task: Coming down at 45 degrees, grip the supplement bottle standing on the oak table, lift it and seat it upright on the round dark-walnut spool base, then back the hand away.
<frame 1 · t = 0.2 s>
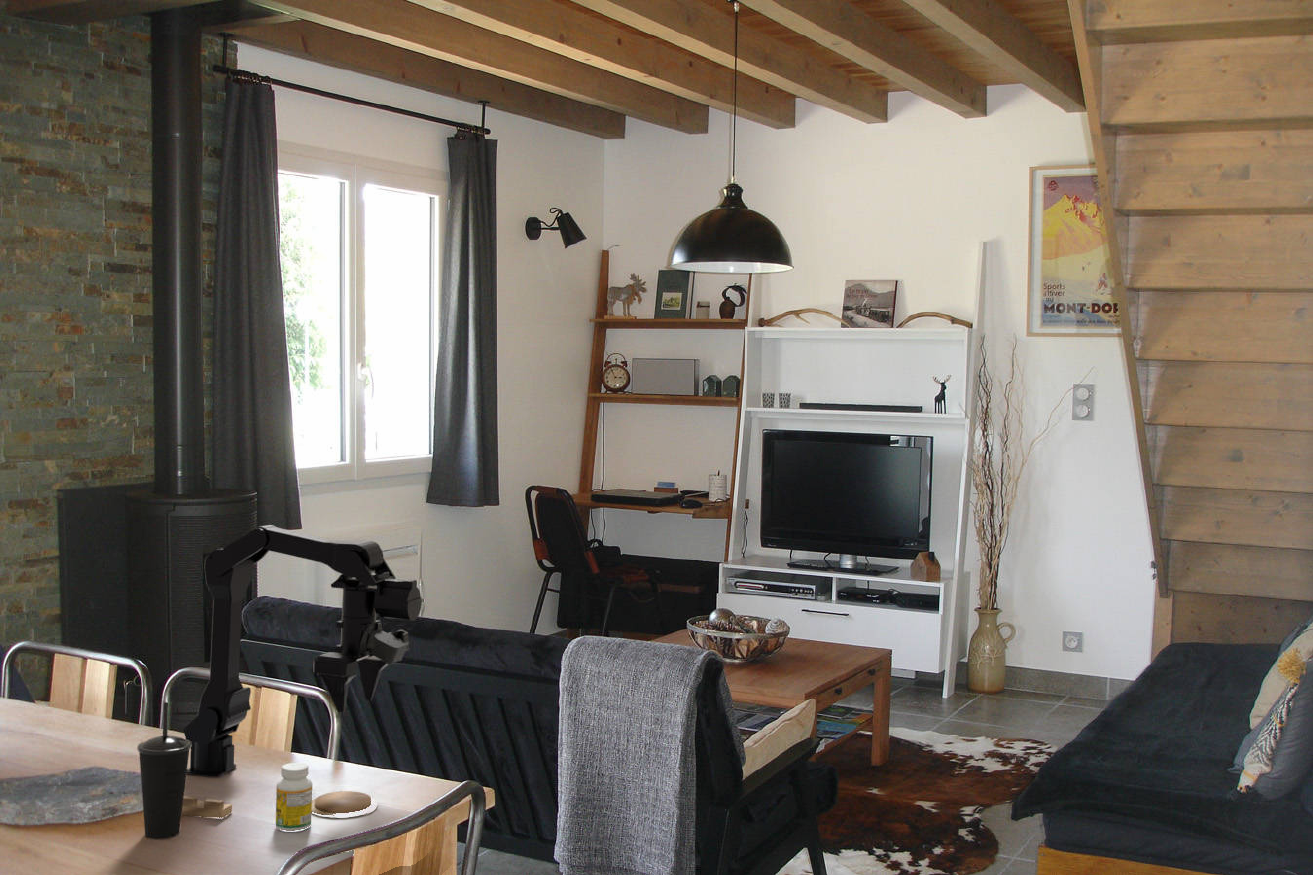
hand: (355, 705, 212), 14 cm above the table, tool pointing down, fingers open, 9 cm apart
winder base: (342, 807, 203), on the table
drinking cup: (162, 834, 188), on the table
notched board: (203, 813, 197), on the table
supplement bottle: (293, 828, 193), on the table
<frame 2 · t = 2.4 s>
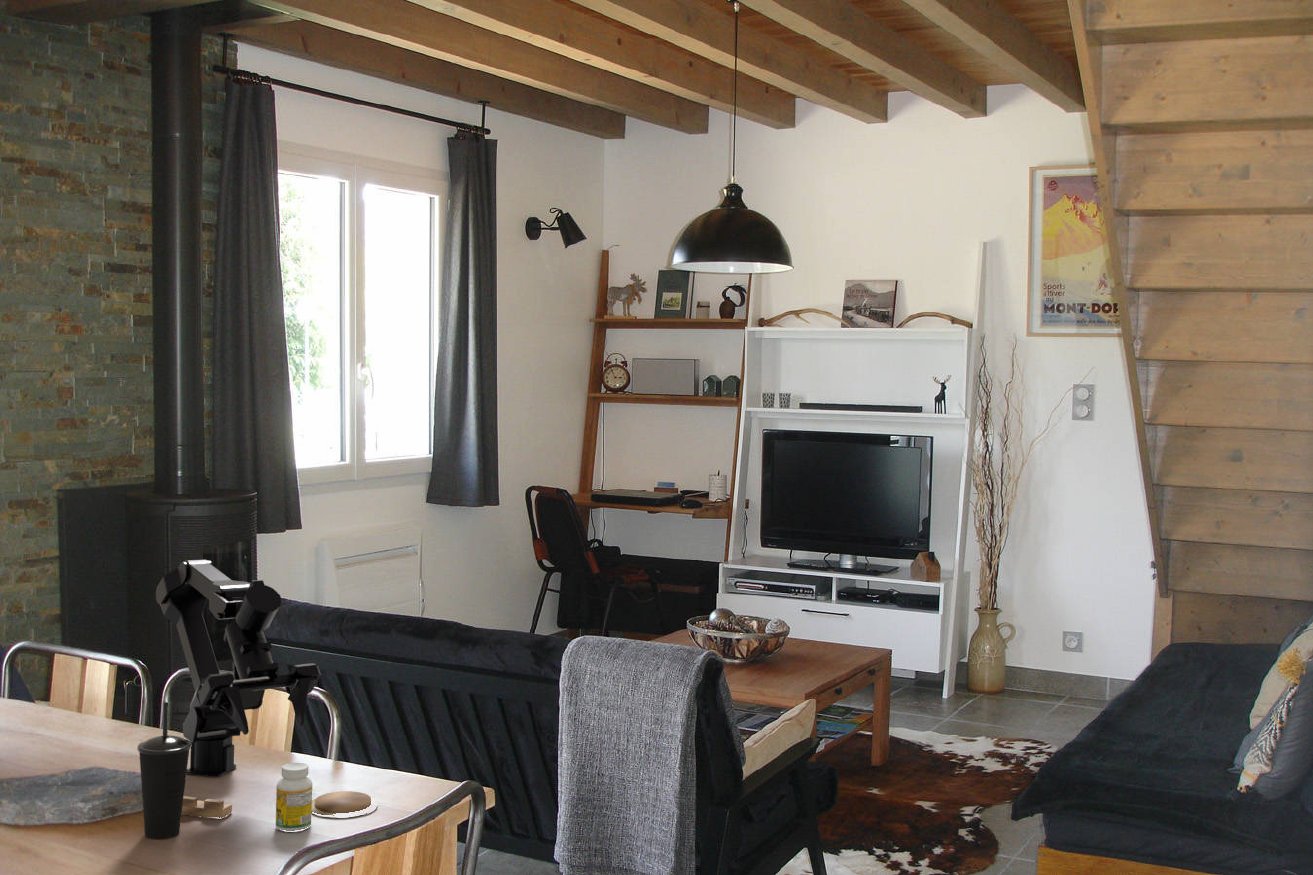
hand: (274, 729, 199), 14 cm above the table, tool tilted 45°, fingers open, 9 cm apart
nothing on the table moved.
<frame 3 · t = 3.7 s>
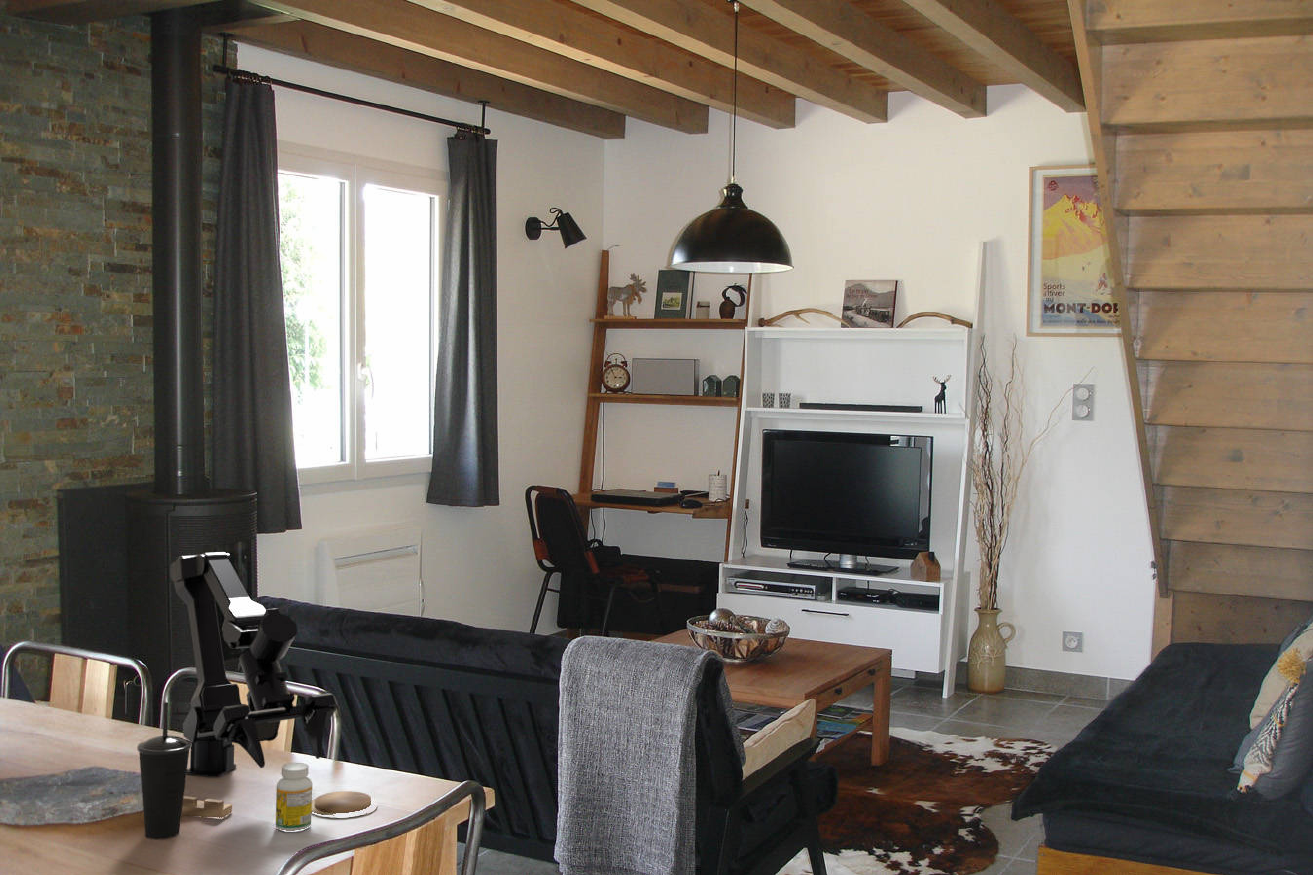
hand: (291, 761, 194), 10 cm above the table, tool tilted 45°, fingers open, 9 cm apart
nothing on the table moved.
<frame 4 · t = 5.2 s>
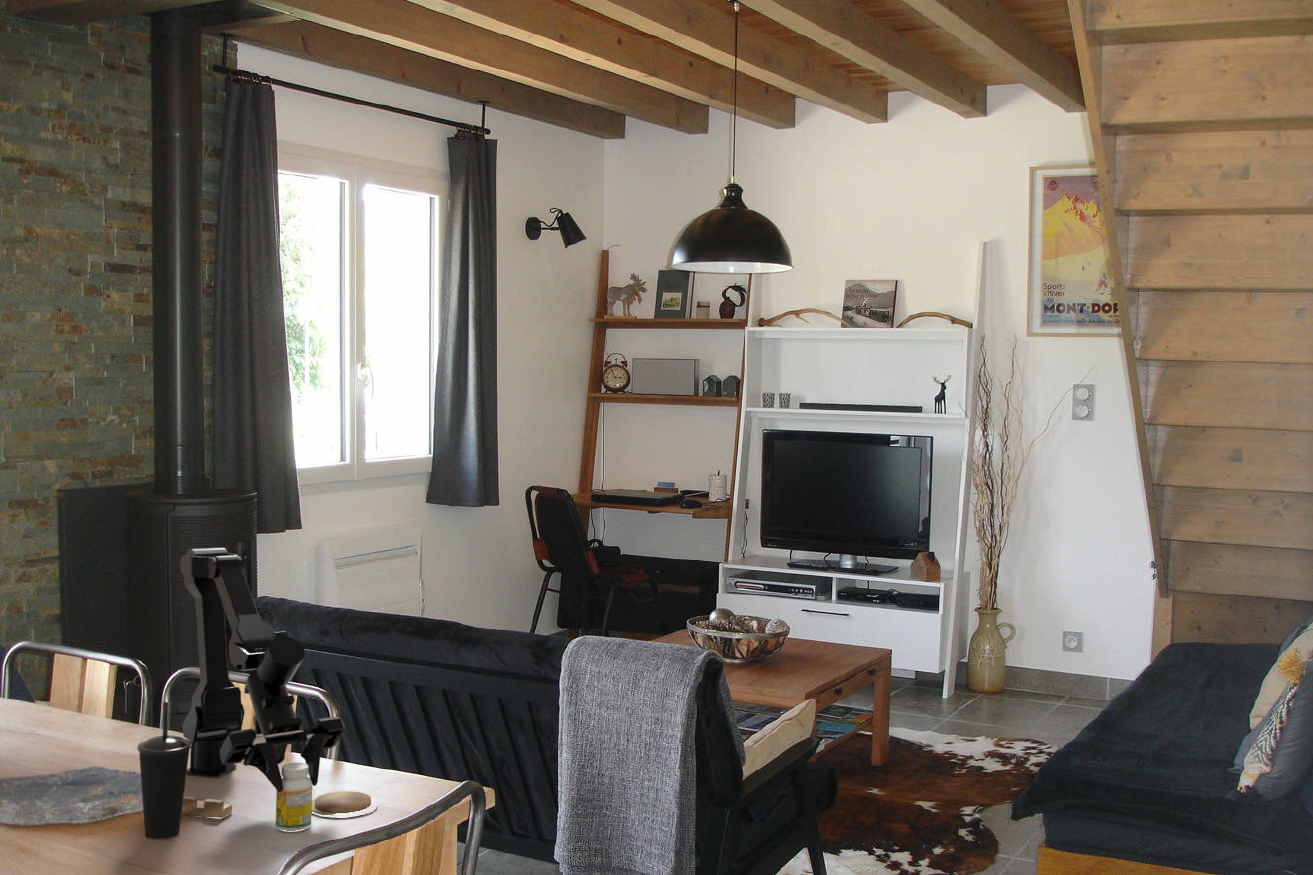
hand: (298, 787, 192), 7 cm above the table, tool tilted 45°, fingers closed on supplement bottle, 5 cm apart
supplement bottle: (293, 828, 193), on the table, touching gripper
everything else where it was.
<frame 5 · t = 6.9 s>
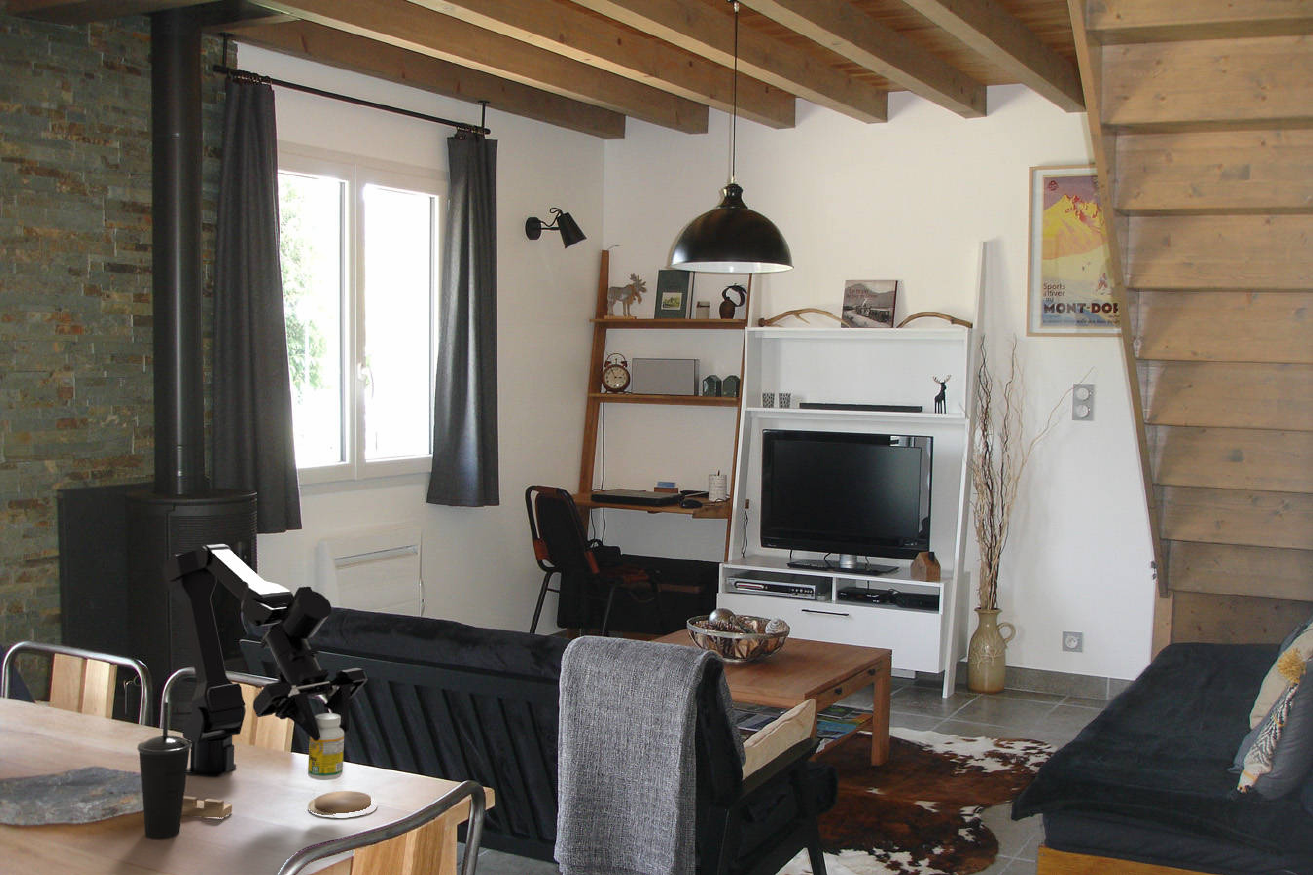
hand: (332, 735, 198), 13 cm above the table, tool tilted 45°, fingers closed on supplement bottle, 5 cm apart
supplement bottle: (324, 776, 199), point 6 cm above the table, touching gripper
everything else where it was.
when the fingers open (9 cm above the table, at t = 8.7 s): supplement bottle stays where it is, resting on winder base.
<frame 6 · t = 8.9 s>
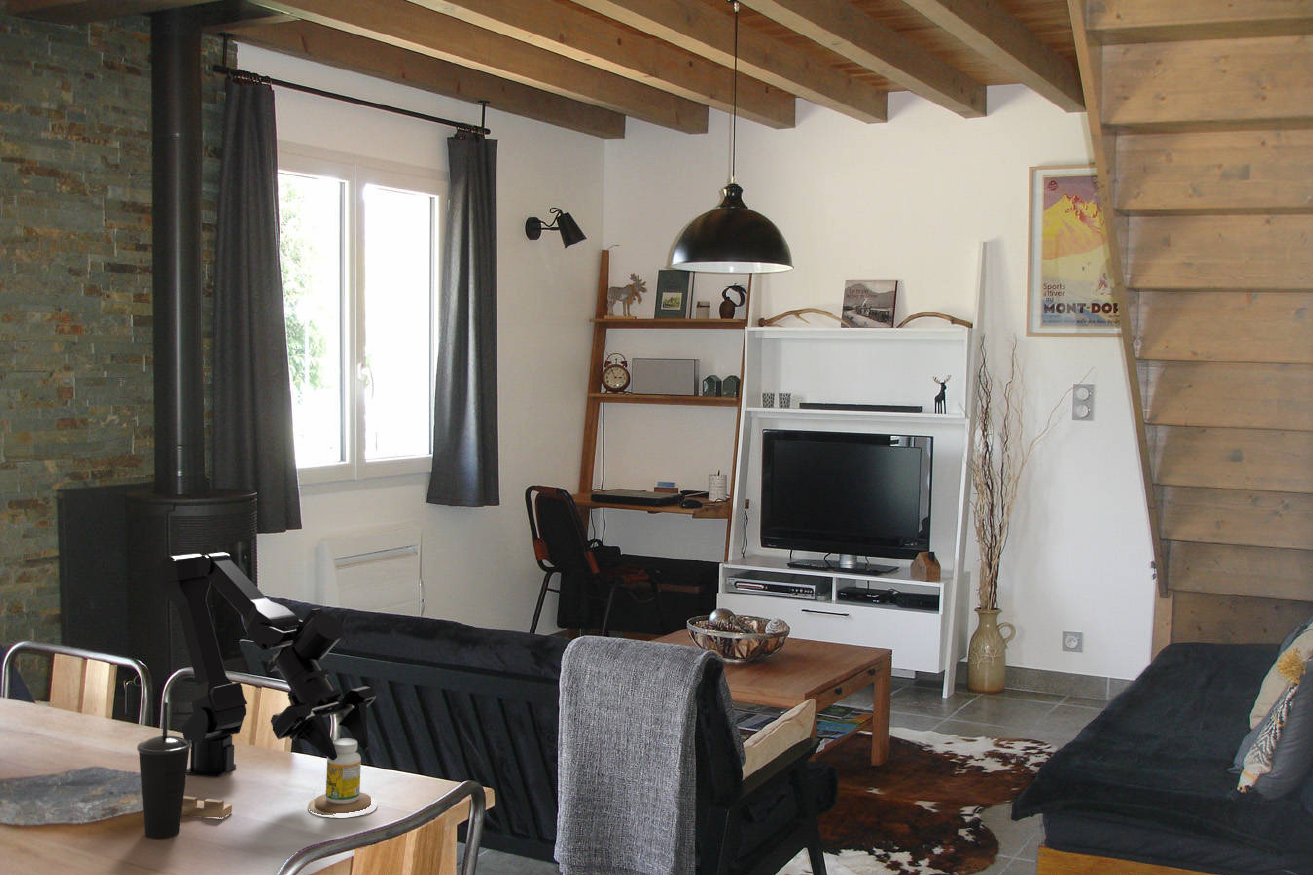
hand: (351, 753, 202), 9 cm above the table, tool tilted 45°, fingers open, 7 cm apart
supplement bottle: (342, 800, 203), point 1 cm above the table, touching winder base
everything else where it was.
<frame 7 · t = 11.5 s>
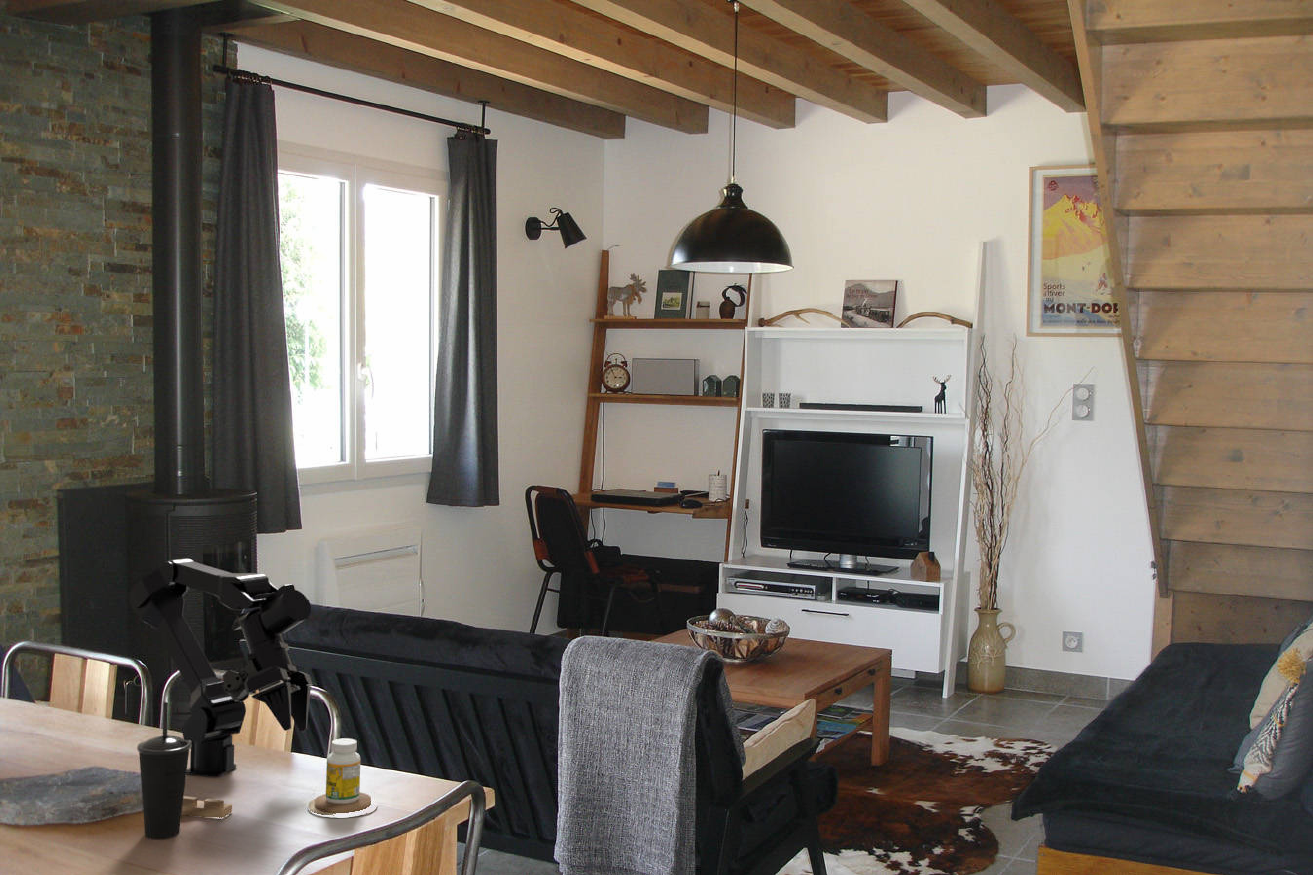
hand: (295, 730, 208), 11 cm above the table, tool tilted 30°, fingers open, 9 cm apart
nothing on the table moved.
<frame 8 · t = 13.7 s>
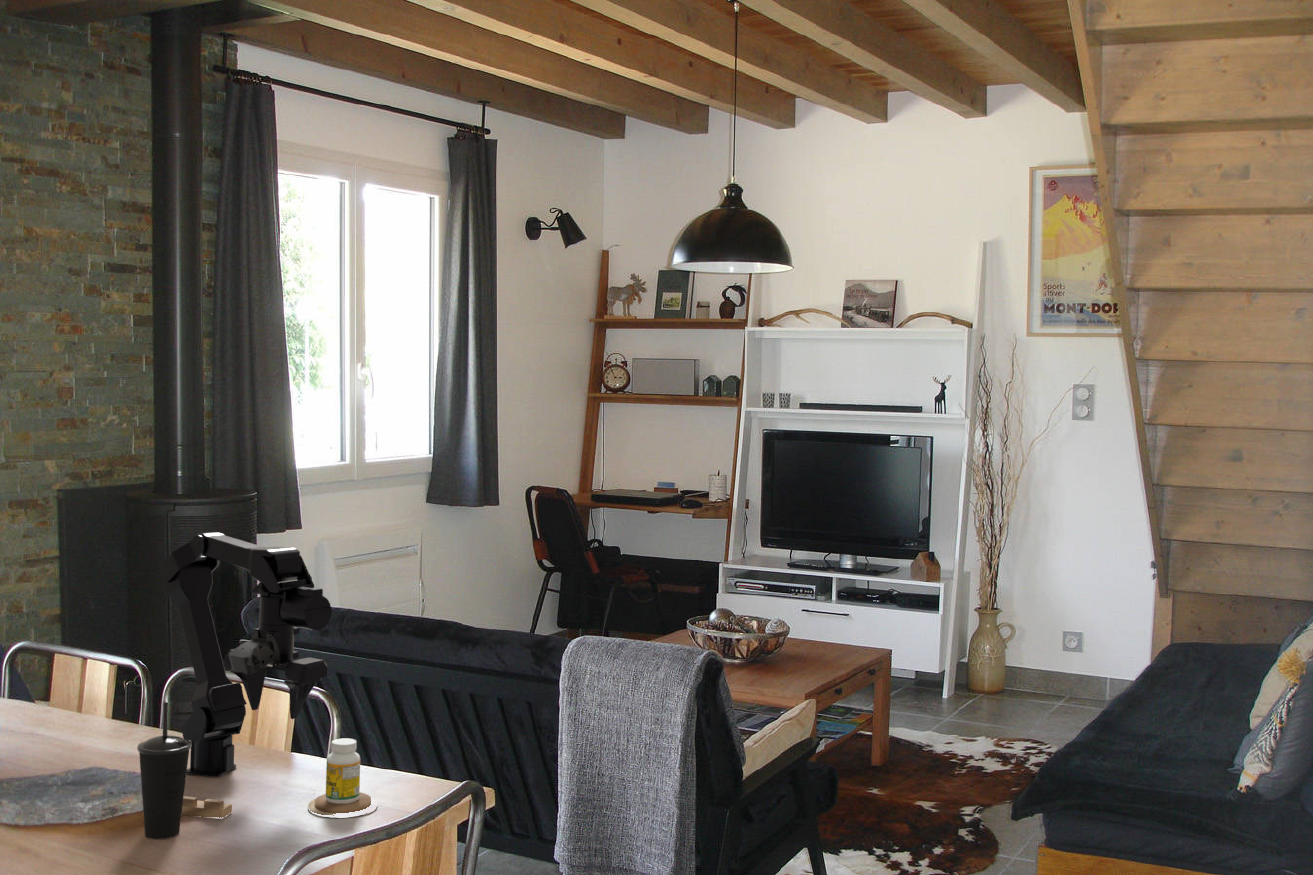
hand: (274, 714, 210), 13 cm above the table, tool pointing down, fingers open, 9 cm apart
nothing on the table moved.
at the end: supplement bottle 0.2 cm from the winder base (horizontally); supplement bottle tilted 0°; supplement bottle touching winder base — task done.
